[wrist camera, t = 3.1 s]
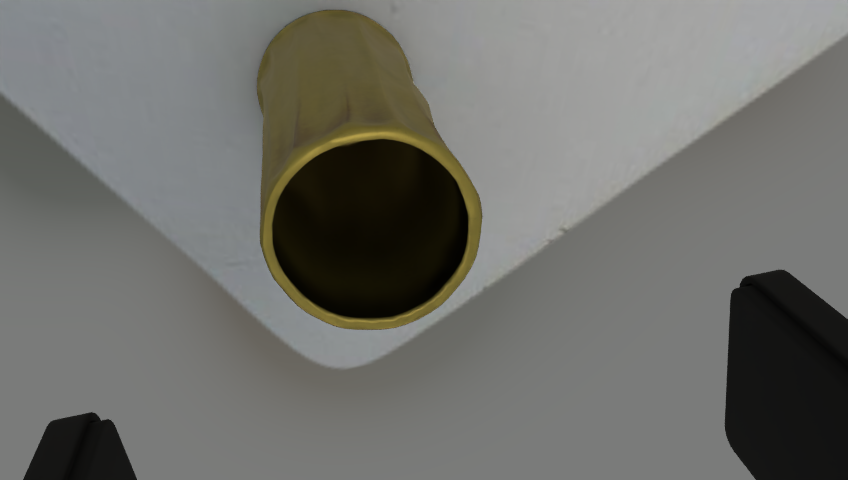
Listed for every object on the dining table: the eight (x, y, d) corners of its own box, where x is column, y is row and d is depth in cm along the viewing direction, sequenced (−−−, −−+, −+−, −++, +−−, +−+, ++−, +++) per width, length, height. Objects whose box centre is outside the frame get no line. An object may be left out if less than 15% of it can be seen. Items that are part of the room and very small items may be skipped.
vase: (351, 188, 32) (397, 386, 20) (226, 104, 30) (184, 267, 17) (441, 72, 31) (553, 205, 18) (317, -26, 29) (345, 48, 16)
